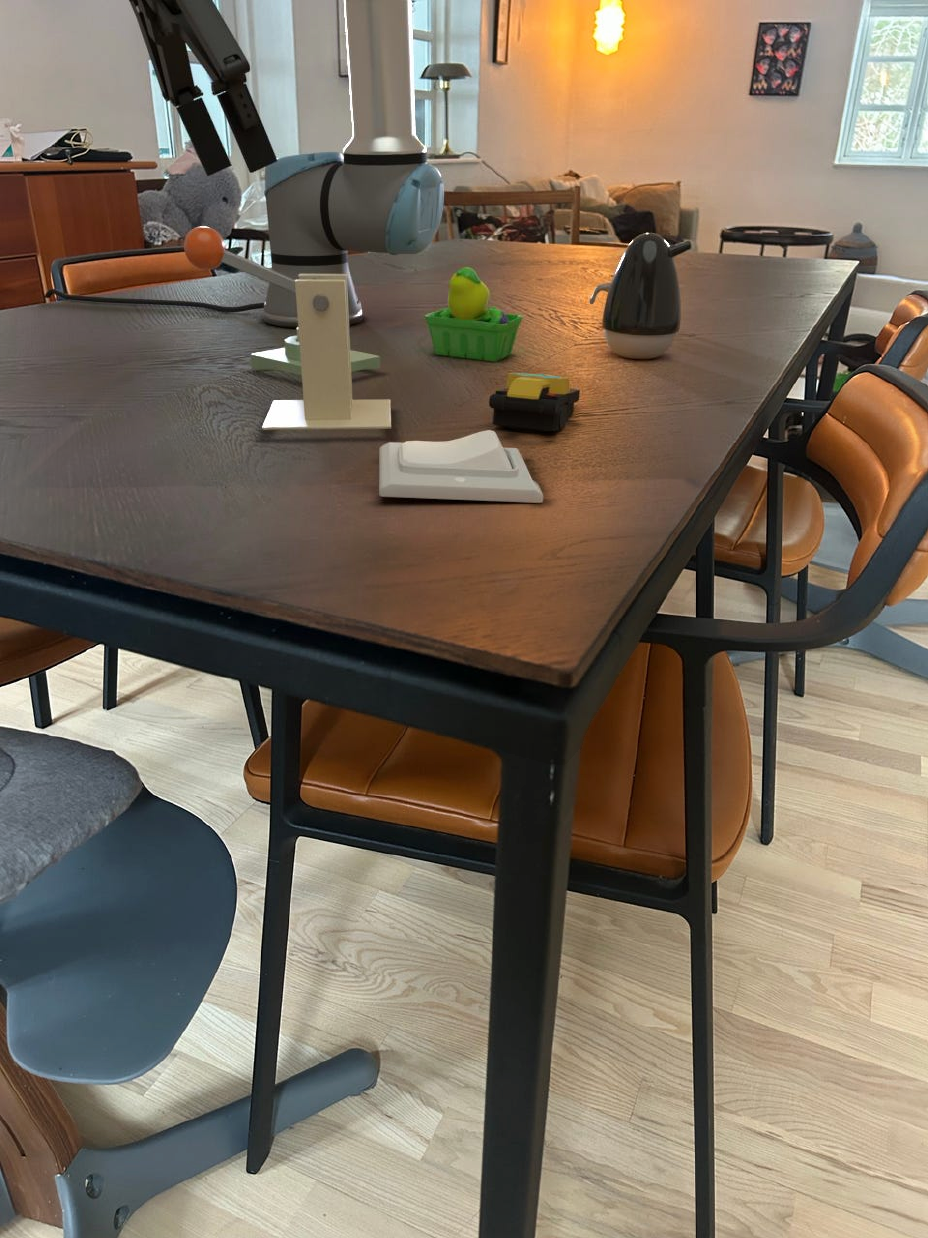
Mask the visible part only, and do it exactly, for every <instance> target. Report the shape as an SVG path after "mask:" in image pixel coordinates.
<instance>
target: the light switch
mask: <svg viewBox="0 0 928 1238" xmlns="http://www.w3.org/2000/svg"><path fill="white" fill-rule="evenodd" d="M378 463H379V464H378V495H379V496H380V497H384V498H407V499H408V498H409V499H412V498H413V499H430V500H431V499H433V500H434V499H435V500H436V499H437V500H458V501H459V500H460V501H462V500H463V501H484V502H485V501H486V502H506V503H507V502H509V503H514V502H515V503H533V504H534V503H535V504H541V503H543V502H544V493H543V492H542V488H541V487H540V485H539V483H538V481H537V480H536V479H533V478H532V476H531V474H530V472H529V470H528V467H527V465H526V463H525V461H524V458H523V456H522V454H521V452H520V450H519V448H517V447H503V445H502V443H501V440H500V438H499V437H498V434H497V433H496V432H495V431H494V430H491V429H487V430H482V431H479V432H475V433H472V434H469V435H466V436H463V437H460V438H456V439H452V440H448V441H426V440H425V441H423V440H409V441H404V442H394V441H393V442H392V441H390V442H387V443H384V444H382V445H381V446H380V447H379V449H378Z"/></svg>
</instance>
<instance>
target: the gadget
mask: <svg viewBox="0 0 928 1238" xmlns="http://www.w3.org/2000/svg"><path fill="white" fill-rule="evenodd" d="M580 394H581V389H576V388H572V387H570V377H566V376H559V375H553V374H550V373H549V374H547V373H538V374H537V373H525V372H509V373H508V374H507V379H506V384H505V388H503V389H498V390H495V393H492V394H490V396H489V398H488V399H489V401H488V406H489V407H490V408H491V409H493V412H492V413H493V414H492V425H493V426H501V427H503V428H506V429H507V428H508V429H511V430H514V431H517V432H521V433H530V434H532V433H548V432H559V430H563V428H565V427H566V422H567V421H568V420H569V418H571V417H572V416H573V414H574V407H575V403H577V402H579V401H580Z"/></svg>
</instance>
